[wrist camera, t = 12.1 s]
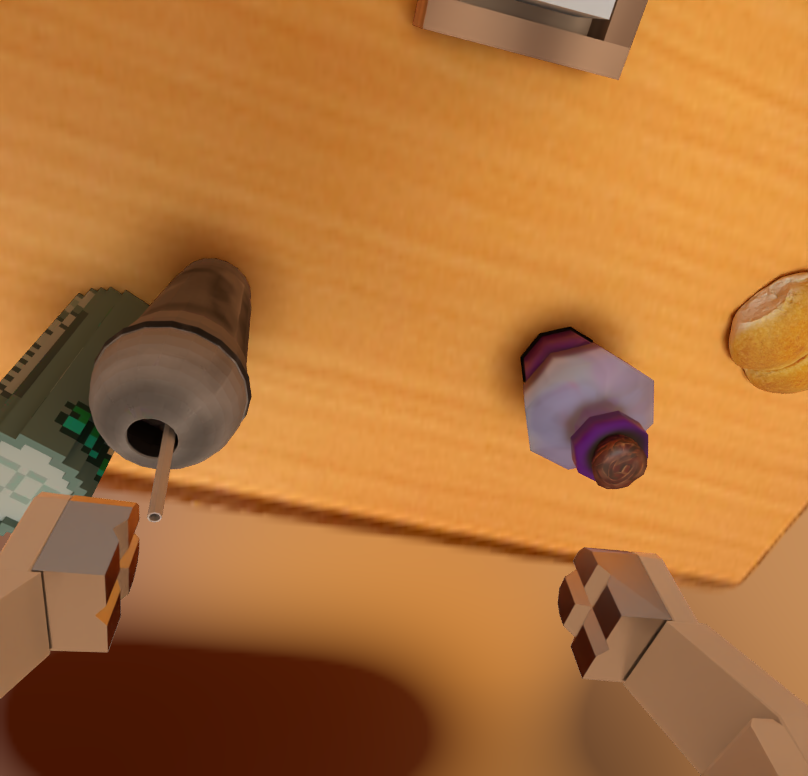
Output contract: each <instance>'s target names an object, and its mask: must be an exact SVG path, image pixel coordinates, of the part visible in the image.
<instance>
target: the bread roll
mask: <svg viewBox="0 0 808 776" xmlns="http://www.w3.org/2000/svg"><path fill="white" fill-rule="evenodd" d="M729 350H730V355H731V358H732V359H733V361H734V362H735V363H736V364H737V365H738V366H740V367H742V368H743V369H744V370H745V373H746V376H747V377H748V379H749V381H750V382H751V383H752V384H753V385H754V386H755V387H757V388H759V389H761V390H764V391H767V392H772V393H781V394H790V393H797V392H801V391H805V390H808V272H803V273H796V274H792V275H788V276H784V277H781V278H780V279H778V280H776V281H775V282H773V283H772V284H770V285H769V286H767V287H766V288H764V289H762V290H760V291H759V292H758V293H756V294H755V295H754V296H753V297H751V298H750V299H749V300H748V301H747V302H746V303H745V304H744V305H743V306H742V307H741V308H740V309H739V310H738V311H737V313H736V314H735V316H734V319H733V322H732V326H731V332H730V337H729Z"/></svg>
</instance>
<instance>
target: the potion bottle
mask: <svg viewBox="0 0 808 776" xmlns="http://www.w3.org/2000/svg"><path fill="white" fill-rule="evenodd" d="M521 366H522V374H523V382H525V383H524V384H523V391H524V402H525V412H526V420H527V428H528V436H529V444H530V451H532V452H534V453H536V454H538V455H540V456H542V457H544V458H546V459H548V460H550V461H552V462H554V463H556V464H558V465H560V466H562V467H564V468H566V469H568V470H569V469H573V468H577V470H578V472H579V473H580V474H582V475H584V476H586V477H588V478H590V479H592V480H594V481H596V482H597V484H598V485H599V486H601V487H604V488H606V489H619V488H623V487H627V486H629V485H630V484H631V483H632V482H633V481H635V480H636V479H637V478H639V477H641V476H642V475H644V472H645V470H646V467H647V458H648V434H647V433H646V430H647V429H648V428H649V427H650V426H651V425H652V424H653V408H654V380H652V379H651V378H649V377H648V376H646V375H645V374H643V373H641V372H640V371H638V370H637V369H635V368H634V367H632V366H631V365H629V364H628V363H626V362H625V361H623V360H621V359H620V358H618V357H616V356H615V355H613V354H612V353H610V352H608V351H607V350H605V349H603V348H602V347H600V346H599V345H597V344H595V343H594V342H593V340H591V339H590V338H588V337H586V336H585V335H583V334H581V333H580V332H578V331H576V330H575V329H573V328H572V327H567V328H562V329H558V330H553V331H549V332H545V333H540V334H539V335H538V336H537V338H536V339H535V340H534V341H533V342H532V344H531V345H530V346H529V347H528V348H527V350H526V351H525V352H524V353H523V355H522V356H521Z"/></svg>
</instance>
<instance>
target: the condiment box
mask: <svg viewBox="0 0 808 776" xmlns="http://www.w3.org/2000/svg"><path fill="white" fill-rule="evenodd" d="M647 1H648V0H616V1H615V4H614V7H613V9H612V12H611V15H610V18H609V20H607V19H595V18H583V17H575V16H571V15H567V14H563V13H560V12H556V11H552V10H549V9H545V8H541V7H538V6H534V5H530V4H527V3H523V2H519V1H516V0H418V1H417V6H416V11H415V16H414V21H413V25H414V26H417V27H420V28H422V29H426V30H430V31H434V32H437V33H441V34H445V35H449V36H453V37H457V38H460V39H464V40H468V41H472V42H476V43H479V44H483V45H487V46H491V47H495V48H498V49H502V50H506V51H510V52H514V53H518V54H521V55H525V56H529V57H533V58H537V59H540V60H544V61H548V62H552V63H556V64H560V65H563V66H567V67H571V68H575V69H579V70H582V71H586V72H590V73H594V74H598V75H601V76H605V77H609V78H613V79H617V80H619V78H620V75H621V72H622V69H623V67H624V64H625V61H626V59H627V56H628V53H629V50H630V48H631V45H632V42H633V39H634V37H635V34H636V31H637V29H638V26H639V23H640V20H641V18H642V15H643V12H644V10H645V7H646V4H647Z"/></svg>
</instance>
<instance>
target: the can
mask: <svg viewBox="0 0 808 776" xmlns="http://www.w3.org/2000/svg"><path fill="white" fill-rule="evenodd" d="M148 307H149V305H148V304H146V303H145V302H143V301H142V300H140V299H139V298H137V297H136V296H134V295H133V294H131V293H130V292H128V291H127V290H125V292H124V293H123V294H121V293H119V292H118V291H116V290H115V289H113V288H112V287H110V288H109V289H108V290H107V291H106V290H104V289H103V288H100V289H99V290H98V292H97V291H96V290H94V289H93V288H91V289H90V290H89V292H88V293H87V294H86V295H85V296H83V295H81V294H80V293H79V294H78V295H77V296H76V297H75V298H74V299H73V300H72V302H71V303H70V304H69V305H68V306H67V307H66V308H65V309H64V311H63V312H62V313H61V314H60V315H59V316H58V317H57V318H56V320H55V321H54V322H53V323H52V324H51V325H50V326H49V327H48V329H47V330H46V331H45V332H44V333H43V334H42V335H41V336H40V338H39V339H38V340H37V341H36V342H35V343H34V344H33V345H32V347H31V348H30V349H29V350H28V351H27V352H26V353H25V354H24V356H23V357H22V358H21V359H20V360H19V361H18V362H17V363H16V365H15V366H14V367H13V368H12V369H11V370H10V371H9V372H8V374H7V375H6V376H5V377H4V378H3V379H2V380H1V381H0V535H1V536H3V535H4V534H5V533H6V532H10V533H12V532H13V531H14V529H15V528H16V526H17V524H18V523H19V521H20V520H21V518H22V516H23V515H24V513H25V511H26V510H27V508H28V507H29V505H30V503H31V502H32V500H33V498H35V497H36V496H37V495H38V494H40V493H41V492H48V493H56V494H64V495H72V496H74V495H78V496H86V497H92V495H93V493H94V491H95V489H96V487H97V485H98V483H99V481H100V479H101V477H102V475H103V473H104V471H105V469H106V467H107V465H108V463H109V461H110V459H111V457H112V455H113V453H114V450H113V449H112V448H111V447H110V446H108V444H107V443H106V442H105V440H104V439H103V437H102V436H101V435H100V433H99V432H98V431H97V429H96V426H95V424H94V420H93V417H92V414H91V410H90V407H89V391H90V382H91V376H92V372H93V370H94V362H95V359H96V357H97V355H98V353H99V352H100V350H101V348H102V347H103V345H104V343H105V342H106V341H107V340H108V339H110V338H111V337H112V336H114V335H115V334H116V333H118V332H119V331H120V330H122V329H123V328H126V327H128V326H129V325H131V324H132V323H133V322H135V321H136V320H137V319H138V318H139V317H140V316H141V315H142V314H143V313H144V312H145V310H146V309H147V308H148Z"/></svg>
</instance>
